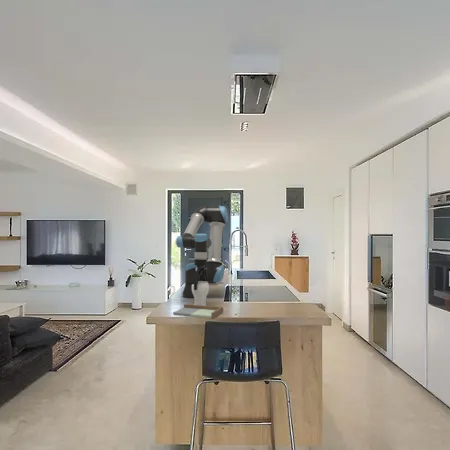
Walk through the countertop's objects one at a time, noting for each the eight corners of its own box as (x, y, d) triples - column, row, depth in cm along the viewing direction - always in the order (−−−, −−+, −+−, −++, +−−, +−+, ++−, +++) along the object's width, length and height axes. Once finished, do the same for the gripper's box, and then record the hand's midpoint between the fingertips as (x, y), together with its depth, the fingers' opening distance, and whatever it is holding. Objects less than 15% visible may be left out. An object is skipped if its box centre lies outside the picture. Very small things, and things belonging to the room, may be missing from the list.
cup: (192, 308, 256) (192, 283, 256) (190, 305, 267) (190, 281, 266) (210, 308, 258) (210, 283, 258) (207, 304, 269) (207, 280, 269)
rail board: (184, 309, 255) (184, 304, 255) (222, 312, 247) (222, 307, 247) (173, 314, 240) (173, 309, 240) (213, 318, 232) (213, 312, 232)
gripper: (202, 257, 275) (201, 290, 275) (186, 260, 251) (186, 296, 251) (213, 257, 273) (212, 291, 273) (198, 260, 249) (198, 297, 249)
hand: (200, 293), depth 262 cm, fingers open, 13 cm apart
